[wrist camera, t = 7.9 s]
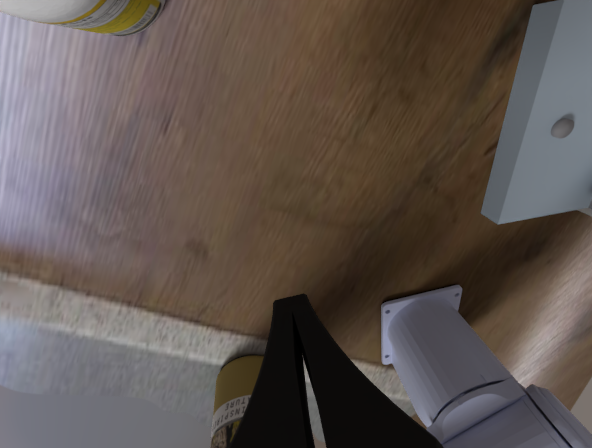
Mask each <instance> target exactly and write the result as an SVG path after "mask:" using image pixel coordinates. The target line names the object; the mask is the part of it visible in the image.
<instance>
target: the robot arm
mask: <svg viewBox="0 0 592 448" xmlns="http://www.w3.org/2000/svg"><path fill="white" fill-rule="evenodd" d="M461 294H462V288H461V286H460V285H454V286H450V287H446V288H442V289H437V290H433V291H429V292H425V293H421V294H417V295H412V296H408V297H404V298H400V299H396V300H392V301H387V302H384V303H383V304H382V306H381V355H382V362H383V364H390V363H392V364H393V366H394V368H395V370H396V372H397V374H398V376H399V378H400V380H401V382H402V384H403V386H404V388H405V390H406V392H407V394H408V396H409V398H410V400H411V402H412V405H413V407H414V409H415V411H416V413H417V414H418V416H419V418H420V419H421V421H422V422H423V423H424V424H425V425H426V426H427V430H426V429H424V428H423V427H422V426H421V425H419V424H418V423H417V422H416V421H414V420H413V419H412V418H411V417H409V416H408V415H407V414H406V413H405V412H404V411H402V410H401V409H400V408H399V407H398V406H397V405H395V404H394V403H393V402H392V401H391V400H390V399H389V398H388V397H387V396H386V395H385V394H383V393H382V392H381V391H380V390H379V389H378V388H377V387H376V386H375V385H374V384H373V383H372V382H371V381H370V380H369V379H368V378H367V377H366V376H365V375H364V374H363V373H362V372H361V371H360V370H359V369H358V368H357V367H356V366H355V365H354V363H353V362H352V361H351V360H350V359H349V358H348V357H347V355H346V354H345V353H344V352H343V351H342V349H341V348H340V347H339V346H338V344H337V343H336V342H335V341H334V339H333V338H332V337H331V335H330V334H329V333H328V331H327V330H326V328H325V327H324V325H323V324H322V323H321V321H320V319H319V318H318V316H317V315H316V313H315V311H314V310H313V308H312V306H311V304H310V302H309V300H308V297H307V295H306V294H300V295H296V296H292V297H287V298H283V299H279V300H275V301H274V303H273V315H272V322H271V328H270V333H269V338H268V342H267V347H266V351H265V354H264V358H263V361H262V365H261V368H260V371H259V375H258V378H257V381H256V383H255V386H254V389H253V392H252V395H251V397H250V400H249V402H248V405H247V407H246V410H245V412H244V414H243V417H242V419H241V421H240V424H239V426H238V428H237V430H236V432H235V434H234V436H233V439H232V441H231V443H230V445H229V447H228V448H315V445H314V439H313V434H312V429H311V424H310V417H309V410H308V402H307V393H306V384H305V375H304V366H303V358H304V361H305V365H306V368H307V371H308V375H309V378H310V381H311V385H312V388H313V391H314V395H315V398H316V401H317V405H318V409H319V414H320V419H321V424H322V428H323V433H324V438H325V443H326V447H327V448H592V434H590V432H589V431H588V430H587V429H586V428H585V427H584V426H583V425H582V424H581V423H580V422H579V421H578V419H577V418H576V417H575V416H574V415H573V414H572V413H571V412H570V411H569V410H568V409H567V408H566V407H565V406H564V405H563V404H562V403H561V402H560V401H559V400H558V399H557V398H556V397H555V396H554V395H553V394H552V393H551V392H550V391H549V390H548V389H545V388H542V387H537V386H536V385H533V384H531V385H530V386H529V387H527V388H526V389H525V388H524V387H523V386H522V385H520V384H519V383H518V382H517V381H516V379H515V378H514V377H513V376H512V375H511V374H510V372H509V371H508V370H507V369H506V368H505V367H504V365H503V364H502V363H501V362H500V361H499V359H498V358H497V357H496V356H495V355H494V354H493V352H492V351H491V350H490V349H489V348H488V347H487V345H486V344H485V343H484V342H483V341H482V340H481V338H480V337H479V336H478V335H477V334H476V332H475V331H474V330H473V329H472V328H471V327H470V325H469V324H468V323H467V322H466V321H465V320H464V318H463V317H462V316H461V315H460V314H459V313H458V310H459V304H460V299H461ZM302 354H303V357H302Z"/></svg>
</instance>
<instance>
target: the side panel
mask: <svg viewBox="0 0 592 448" xmlns="http://www.w3.org/2000/svg"><path fill="white" fill-rule="evenodd" d="M578 211H580V212H582V213H585V214H587V215H589V216H591V217H592V200H591V202H590V205H589V207H588V208H584V209H579V210H578Z"/></svg>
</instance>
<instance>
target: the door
mask: <svg viewBox="0 0 592 448" xmlns="http://www.w3.org/2000/svg"><path fill="white" fill-rule="evenodd" d="M591 200H592V0H557V1H552V2H547V3H541V4H536V5H533V7H532V11H531V15H530V19H529V23H528V27H527V31H526V35H525V39H524V43H523V47H522V51H521V55H520V59H519V63H518V67H517V71H516V75H515V79H514V83H513V87H512V91H511V95H510V99H509V103H508V107H507V110H506V114H505V118H504V122H503V126H502V130H501V134H500V138H499V142H498V146H497V150H496V154H495V158H494V162H493V166H492V170H491V174H490V178H489V182H488V186H487V190H486V194H485V198H484V202H483V206H482V209H481V214H482V215H484V216H485V217H487V218H488V219H490V220H492V221H493V222H495V223H496V224H504V223H509V222H514V221H520V220H525V219H530V218H536V217H541V216H546V215H552V214H557V213H563V212H568V211H573V210H579V209H584V208H588V207H589V205H590V202H591Z"/></svg>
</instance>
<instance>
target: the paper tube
mask: <svg viewBox="0 0 592 448" xmlns="http://www.w3.org/2000/svg"><path fill="white" fill-rule="evenodd" d="M263 358H264V356H258V355H252V356H245V357H241V358H238V359H235V360H233V361H231V362H230V363H228V364H227V365H226V366H224V368H223V369H222V370H221V371H220V373H219V374H218V377H217V380H216V391H215V402H214V414H213V422H212V433H211V447H210V448H228V447H229V445H230V443H231V441H232V439H233V436H234V434H235V432H236V430H237V428H238V426H239V424H240V421H241V419H242V417H243V414H244V412H245V410H246V407H247V405H248V402H249V400H250V397H251V395H252V392H253V389H254V386H255V383H256V381H257V378H258V375H259V371H260V368H261V365H262V361H263Z"/></svg>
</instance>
